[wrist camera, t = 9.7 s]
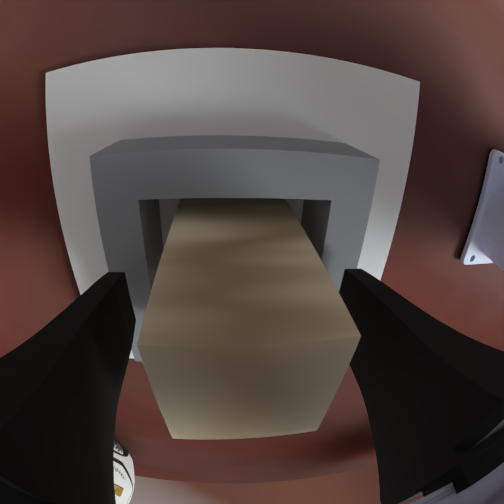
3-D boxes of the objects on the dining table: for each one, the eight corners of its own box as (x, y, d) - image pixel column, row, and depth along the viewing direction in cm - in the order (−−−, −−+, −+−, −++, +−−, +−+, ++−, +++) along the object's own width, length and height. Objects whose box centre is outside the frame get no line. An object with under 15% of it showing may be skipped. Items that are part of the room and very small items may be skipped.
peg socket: (408, 81, 11) (464, 86, 7) (349, 339, 19) (370, 385, 15) (56, 73, 9) (3, 73, 5) (107, 344, 17) (93, 394, 13)
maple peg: (281, 192, 12) (361, 335, 5) (273, 273, 14) (317, 430, 7) (182, 191, 11) (136, 344, 5) (187, 274, 13) (172, 438, 7)
